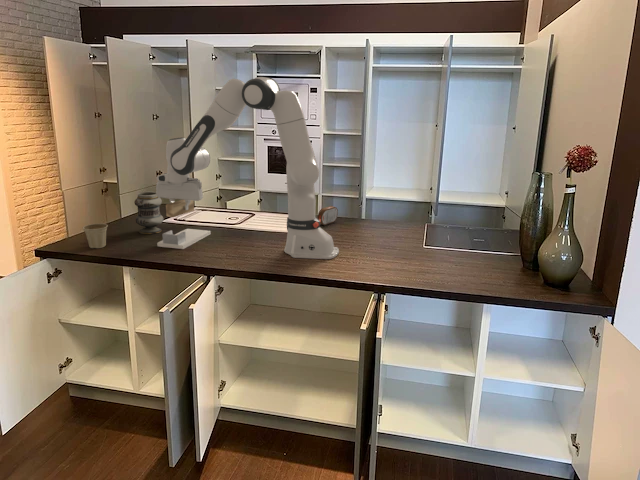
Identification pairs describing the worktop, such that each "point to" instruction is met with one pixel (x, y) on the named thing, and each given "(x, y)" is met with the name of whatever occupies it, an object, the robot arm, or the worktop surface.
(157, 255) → the worktop surface
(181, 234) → the bracket
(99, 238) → the flower pot
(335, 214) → the tin
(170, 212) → the rail
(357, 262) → the worktop surface
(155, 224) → the apothecary jar
